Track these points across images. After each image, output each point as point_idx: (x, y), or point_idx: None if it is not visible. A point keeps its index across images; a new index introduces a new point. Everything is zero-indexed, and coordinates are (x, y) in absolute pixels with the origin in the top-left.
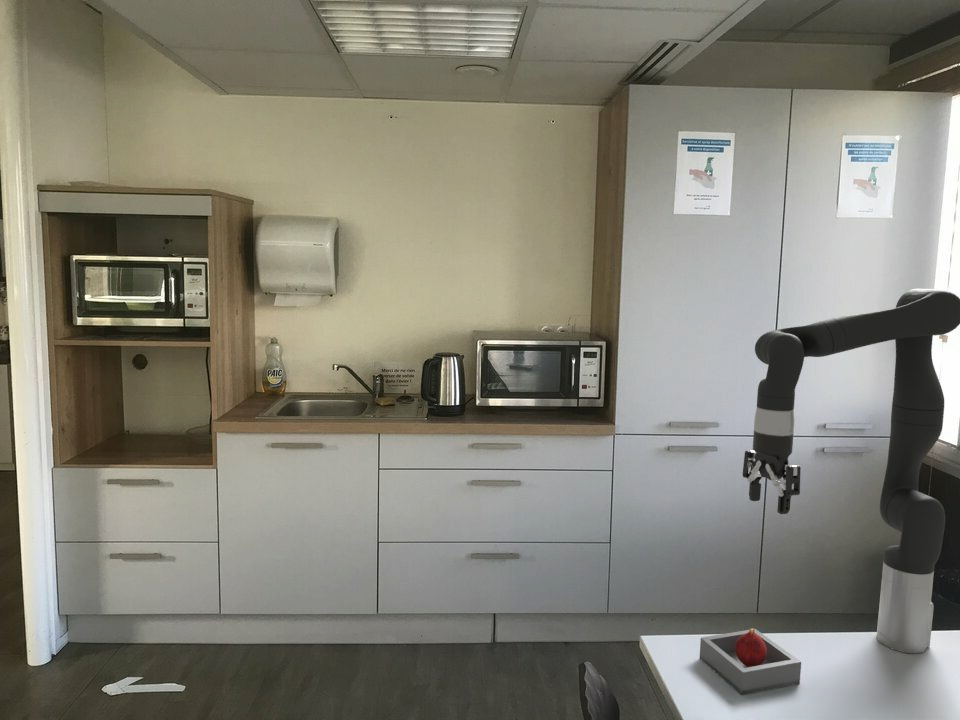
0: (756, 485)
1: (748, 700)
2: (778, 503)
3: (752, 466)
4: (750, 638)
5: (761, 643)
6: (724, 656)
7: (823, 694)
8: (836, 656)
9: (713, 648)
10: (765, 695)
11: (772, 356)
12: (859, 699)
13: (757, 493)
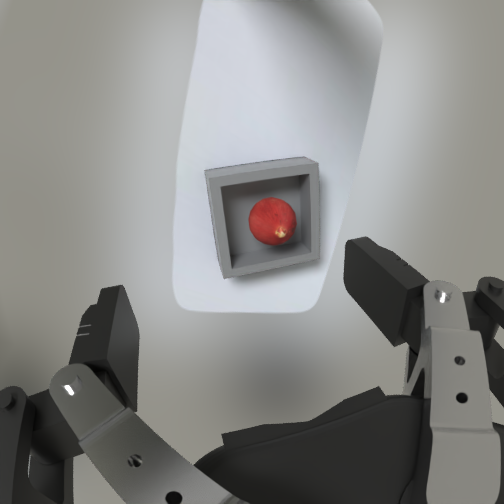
0: (126, 381)
1: None
2: (373, 316)
3: (41, 495)
4: (287, 237)
5: (292, 218)
6: (279, 266)
7: (330, 140)
8: (248, 50)
9: (255, 272)
10: None
11: None
12: (348, 103)
13: (123, 328)
